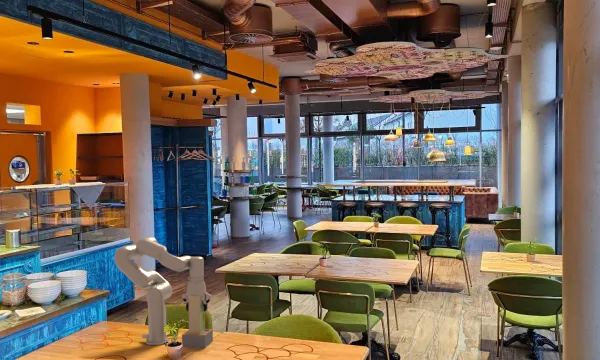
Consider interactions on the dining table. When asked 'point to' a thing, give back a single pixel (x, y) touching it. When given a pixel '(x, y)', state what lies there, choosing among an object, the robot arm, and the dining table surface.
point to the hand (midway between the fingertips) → (196, 310)
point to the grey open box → (197, 339)
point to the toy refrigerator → (196, 315)
